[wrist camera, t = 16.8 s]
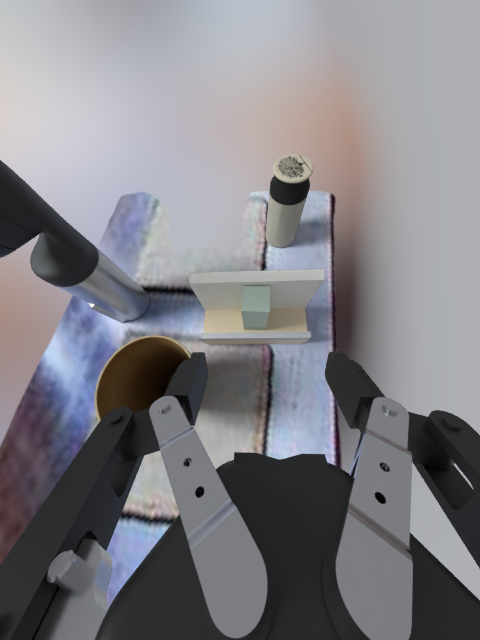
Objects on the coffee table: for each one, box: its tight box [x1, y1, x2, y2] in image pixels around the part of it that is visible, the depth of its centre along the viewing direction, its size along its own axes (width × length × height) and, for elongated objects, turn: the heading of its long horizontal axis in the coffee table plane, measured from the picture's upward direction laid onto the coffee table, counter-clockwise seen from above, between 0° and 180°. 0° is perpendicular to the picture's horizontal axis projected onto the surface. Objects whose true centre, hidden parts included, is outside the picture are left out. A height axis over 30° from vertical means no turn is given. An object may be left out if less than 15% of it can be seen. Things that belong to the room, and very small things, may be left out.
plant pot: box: [95, 335, 191, 422], centre depth 34 cm, size 15×15×16 cm
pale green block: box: [241, 286, 270, 330], centre depth 36 cm, size 4×4×11 cm
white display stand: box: [189, 269, 325, 344], centre depth 38 cm, size 9×22×16 cm, turn 90°
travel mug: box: [266, 154, 313, 248], centre depth 45 cm, size 8×8×18 cm
